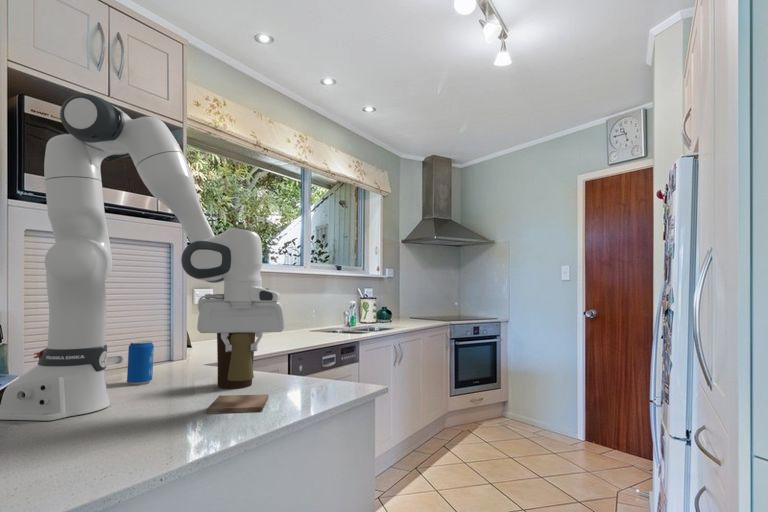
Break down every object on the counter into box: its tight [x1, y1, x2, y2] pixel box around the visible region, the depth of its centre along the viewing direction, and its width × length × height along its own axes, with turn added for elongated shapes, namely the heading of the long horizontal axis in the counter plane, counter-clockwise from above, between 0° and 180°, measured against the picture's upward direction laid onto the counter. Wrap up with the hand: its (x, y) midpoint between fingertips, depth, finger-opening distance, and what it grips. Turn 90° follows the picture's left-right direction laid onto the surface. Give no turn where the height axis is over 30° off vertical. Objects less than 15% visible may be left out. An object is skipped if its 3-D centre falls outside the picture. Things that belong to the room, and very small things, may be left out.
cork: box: [228, 332, 255, 381], centre depth 106 cm, size 6×6×11 cm
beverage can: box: [126, 340, 155, 386], centre depth 129 cm, size 6×6×12 cm
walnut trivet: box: [206, 393, 269, 414], centre depth 105 cm, size 12×12×1 cm
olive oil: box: [216, 332, 256, 390], centre depth 127 cm, size 11×11×25 cm
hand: (241, 351), depth 106 cm, fingers closed on cork, 4 cm apart
